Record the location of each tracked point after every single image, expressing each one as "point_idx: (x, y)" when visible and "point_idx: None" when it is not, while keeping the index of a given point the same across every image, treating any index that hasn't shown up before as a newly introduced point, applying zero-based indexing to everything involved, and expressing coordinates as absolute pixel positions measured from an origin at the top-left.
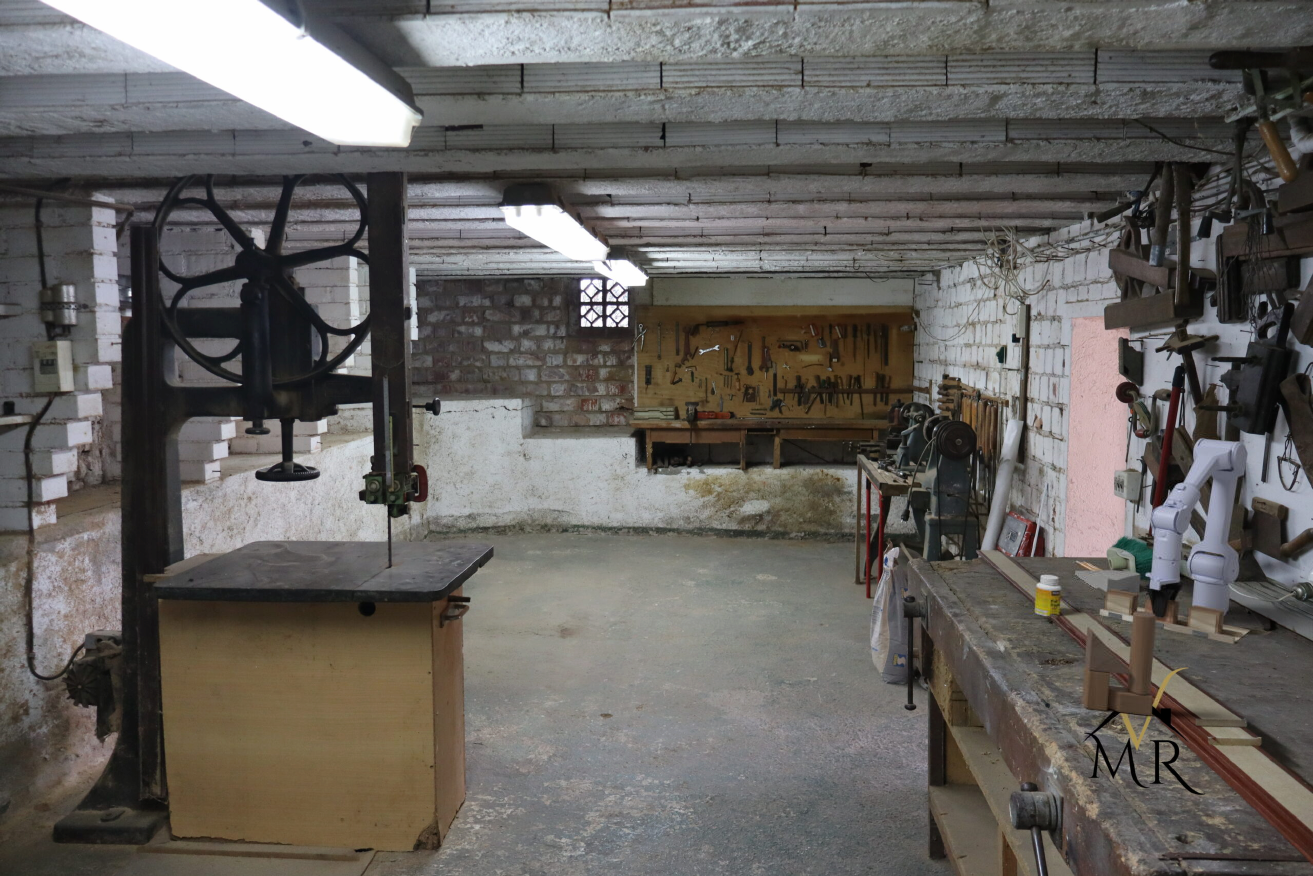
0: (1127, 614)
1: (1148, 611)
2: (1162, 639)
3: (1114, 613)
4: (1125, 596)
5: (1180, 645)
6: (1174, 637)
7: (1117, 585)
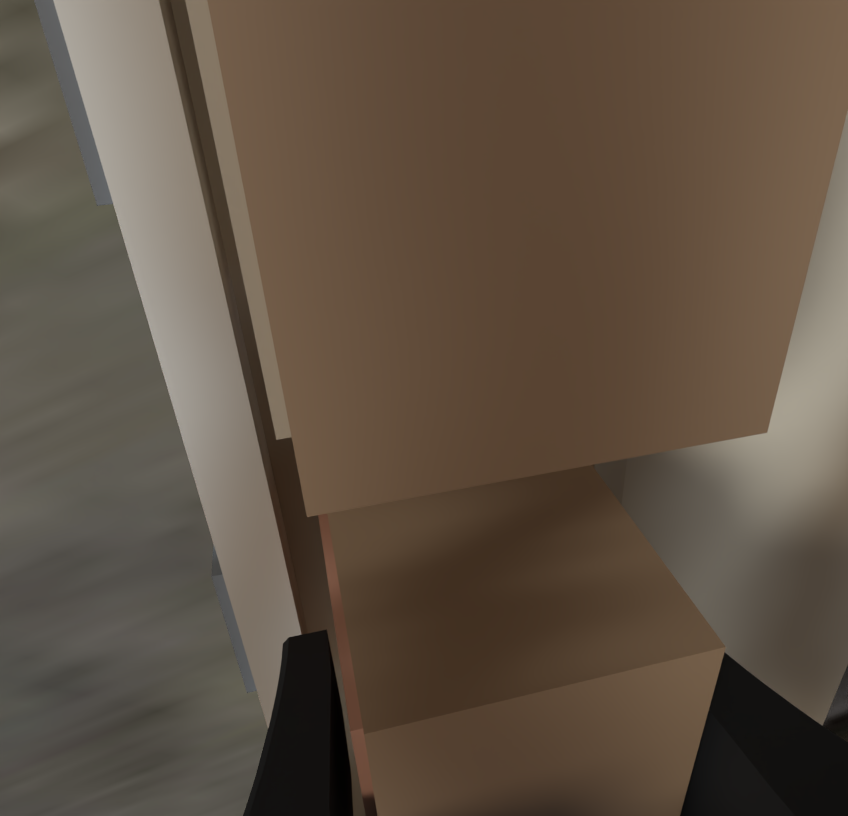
0: (218, 267)
1: (331, 592)
2: (34, 689)
3: (52, 46)
4: (271, 319)
5: (26, 809)
6: (231, 689)
7: None
